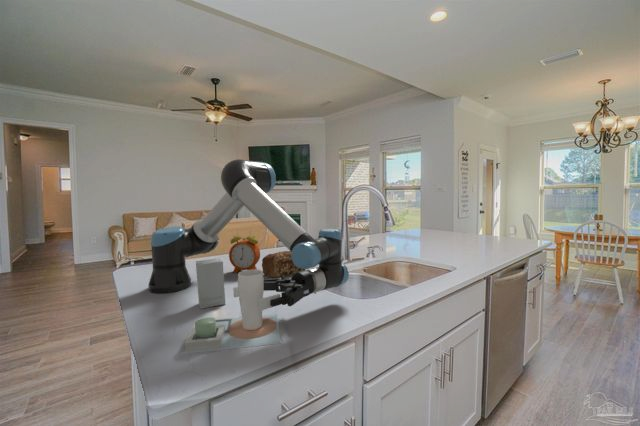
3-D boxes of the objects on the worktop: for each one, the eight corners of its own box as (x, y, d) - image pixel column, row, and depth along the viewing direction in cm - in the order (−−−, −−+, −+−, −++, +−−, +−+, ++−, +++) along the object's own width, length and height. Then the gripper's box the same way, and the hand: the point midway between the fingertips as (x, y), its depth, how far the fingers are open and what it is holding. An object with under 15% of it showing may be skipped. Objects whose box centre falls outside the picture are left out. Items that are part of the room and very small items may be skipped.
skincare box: (223, 299, 105) (221, 257, 104) (225, 305, 100) (224, 260, 99) (197, 303, 101) (195, 260, 100) (198, 309, 96) (196, 263, 95)
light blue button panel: (199, 322, 86) (199, 320, 86) (276, 315, 90) (276, 313, 90) (184, 356, 69) (183, 353, 69) (280, 345, 73) (280, 342, 73)
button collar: (192, 335, 77) (192, 327, 77) (224, 332, 79) (224, 324, 79) (184, 351, 70) (184, 343, 69) (221, 347, 71) (220, 339, 71)
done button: (197, 330, 76) (197, 318, 76) (217, 328, 77) (217, 316, 77) (193, 339, 71) (192, 326, 71) (214, 337, 72) (214, 324, 72)
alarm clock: (228, 273, 139) (227, 230, 138) (234, 269, 145) (233, 228, 144) (256, 273, 138) (255, 230, 136) (260, 270, 144) (259, 228, 142)
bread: (274, 279, 129) (273, 256, 128) (261, 274, 137) (260, 252, 136) (307, 271, 141) (307, 250, 141) (293, 267, 149) (293, 247, 148)
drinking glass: (259, 333, 78) (257, 276, 77) (235, 331, 79) (232, 275, 78) (268, 322, 84) (267, 269, 83) (246, 320, 86) (244, 268, 85)
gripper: (335, 304, 85) (270, 327, 71) (285, 284, 103) (226, 300, 89) (335, 278, 84) (269, 296, 70) (285, 263, 103) (225, 275, 89)
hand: (245, 298), depth 80 cm, fingers open, 13 cm apart
